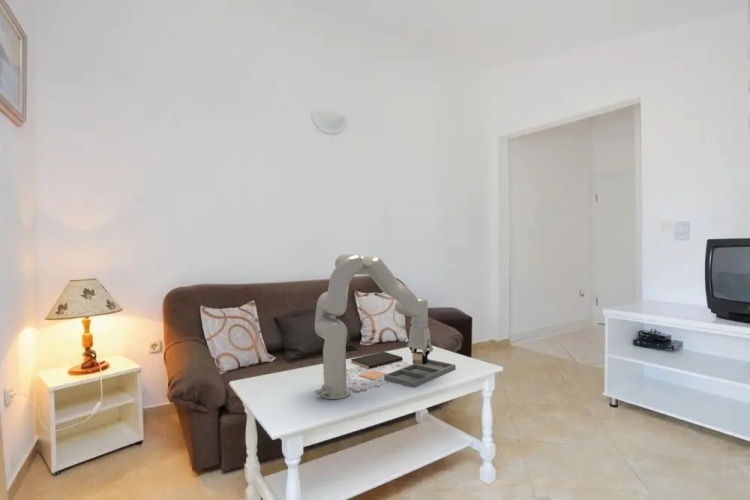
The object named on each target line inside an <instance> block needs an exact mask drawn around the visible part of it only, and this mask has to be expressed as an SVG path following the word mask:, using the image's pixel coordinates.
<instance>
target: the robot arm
mask: <svg viewBox="0 0 750 500" xmlns="http://www.w3.org/2000/svg"><path fill="white" fill-rule="evenodd" d="M334 266H335V268H334V269H333V271H332V273H331V275H330V277H329V282H328V288H327V291H324V292H323V293H322V294H320V296H319V297H318V299H317V300H316V301H317V303H316V306H315V307H316V308H315V317H314V319H315V320H314V331H315V334H316V335H317V336H318V337H320V338H322V339H324V344H323V348H322V358H323V360H322V361H323V362H322V363H323V384H322V385H321V388H319V389H316V390H315V391H314V394H315V395H316V396H318V395H320V396H321V397H322V399H327V400H340V399H344V398H347V397H349V396H350V395H351V389H350V388H348V387H347V354H346V353H347V351H346V350H347V339H348V328H347V326H346V324H345V323H344V322H343V321H342V320H341V319H336V317H339V316H343V315H344V314H345V313H346V311H347V305H348V299H349V296H348V295H349V288H350V287H349V286H350V284H351V281H352V279H353V278H354V276H356V275H364V276H365V275H366V276H370V278H371V279H372V280H373V281H374V283H375V284H376V286H378V288H379V289H380V290H381V292H383V293H384V294H386V295H388V296H389V297H392V298H393V299H395V300H396V302H395V303H394V310H395V311H396V313H397V314H400V315H403V316H409V317H411V320H410V324H411V326H410V328H409V333H408V342H407V344H406V347H408V349H409V350H410V351H411V352H410V353H411V354H412V355H413V353H415V352H418V350H420V351H421V352H423V356H422V364H426V363H427V361H428V359H429V357H428V355H430V354H431V352H433V351H434V348H433V347H434V346H432V342H431V333H430V328H429V327H428V326H429V325H428V323H429V322H428V321H429V320H428V319H429V318H428V314H429V311H428V310H429V308H428V304H429V303H428V299H427V298H424V297H417V296H416V295H415V294H414V293H413V291H411V289H409V288H408V287H407V286H406V285H404V283H402V282H401V281H400V280H398V279H397V278H396V276H395V275H394V274H393V273H392V271H391V270H390V269H389V267H388V266H387V264H385V262H384V261H383V260H382V259H381V258H380V257H378V256H364V255H363V256H361V255H358V254H341V255H339V256H338V257H337V258H336V259H335V262H334Z"/></svg>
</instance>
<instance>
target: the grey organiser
mask: <svg viewBox="0 0 750 500" xmlns="http://www.w3.org/2000/svg"><path fill="white" fill-rule="evenodd" d="M456 369H457V368H456V364H454V363H448V362H445V361H440V360H435V359H430V358H428V361H427V364H424V365H422V366H420V365H416V364H413V363H412V364H410V365H407V366H405V367H402V368H399V369H396V370H393V371H391V372H389V373H387V374H386V375H384V376H383V380H384V381H386V382H390V383H394V384H395V383H396V384H399V385H402V386H406V387H410V388H412V389H413V388H414V389H415V388H417V387H419V386H421V385H424V384H425V383H428V382H429V381H432V380H434V379H436V378H439V377H441V376H443V375H445V374H447V373H450V372H452V371H454V370H456Z"/></svg>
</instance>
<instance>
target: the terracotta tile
mask: <svg viewBox="0 0 750 500" xmlns="http://www.w3.org/2000/svg"><path fill="white" fill-rule="evenodd" d="M386 374H388V373H385V372H382V371H378V370H374V369H372V370H369V371H367V372H363V373H360V374H359V375H358V377H360V378H363V379H367V380H371V381H376V380H378V379H380V378H384V375H386Z"/></svg>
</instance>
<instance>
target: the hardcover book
mask: <svg viewBox="0 0 750 500" xmlns="http://www.w3.org/2000/svg"><path fill="white" fill-rule="evenodd" d="M401 361H403V356H400V355H396V354H393V353H391V352H388V351H387V352H386V351H380V352H375V353H372V354H366V355H363V356H358V357H355V358H351V359H350V362H351V363H352V364H354V365H358V366H360V367H363V368H366V369H369V370H370V369H375V368H377V367H382V366H385V365H390V364H393V363H397V362H401Z"/></svg>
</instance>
